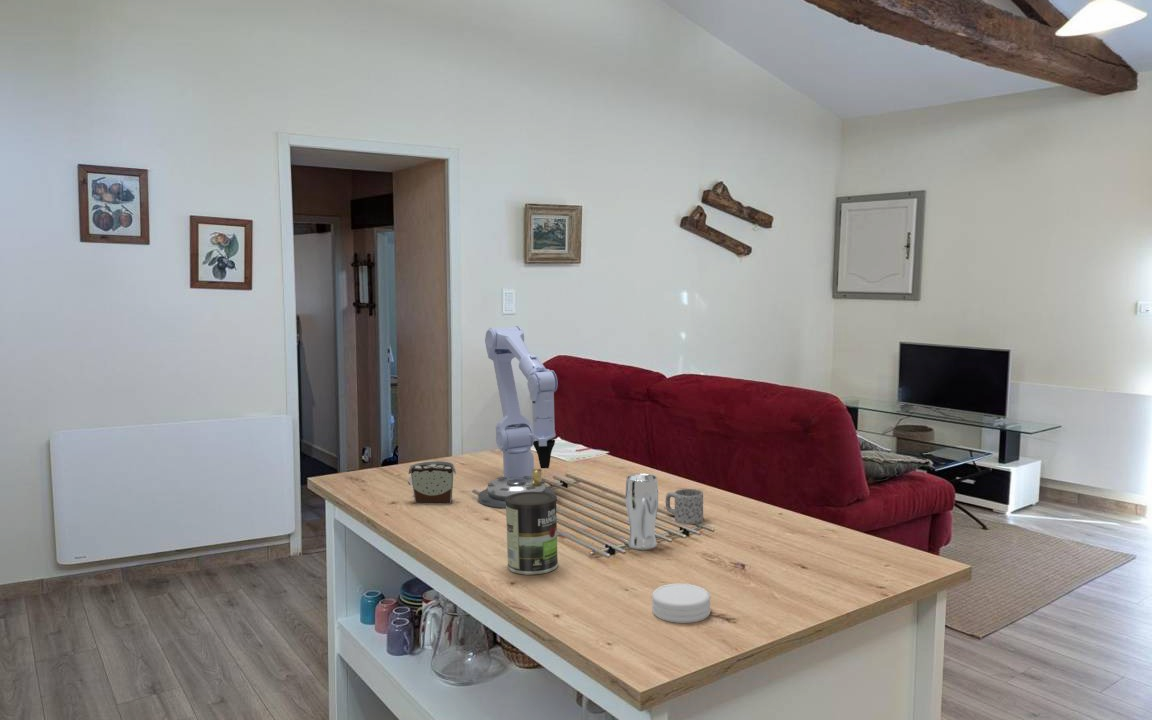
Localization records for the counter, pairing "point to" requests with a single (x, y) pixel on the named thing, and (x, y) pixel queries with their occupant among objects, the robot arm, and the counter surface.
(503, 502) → the dark grey flat disc
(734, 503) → the counter surface
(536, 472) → the lugged hub disc
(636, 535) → the beer glass
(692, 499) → the mug
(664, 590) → the white round lid
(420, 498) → the food container
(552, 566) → the coffee can
